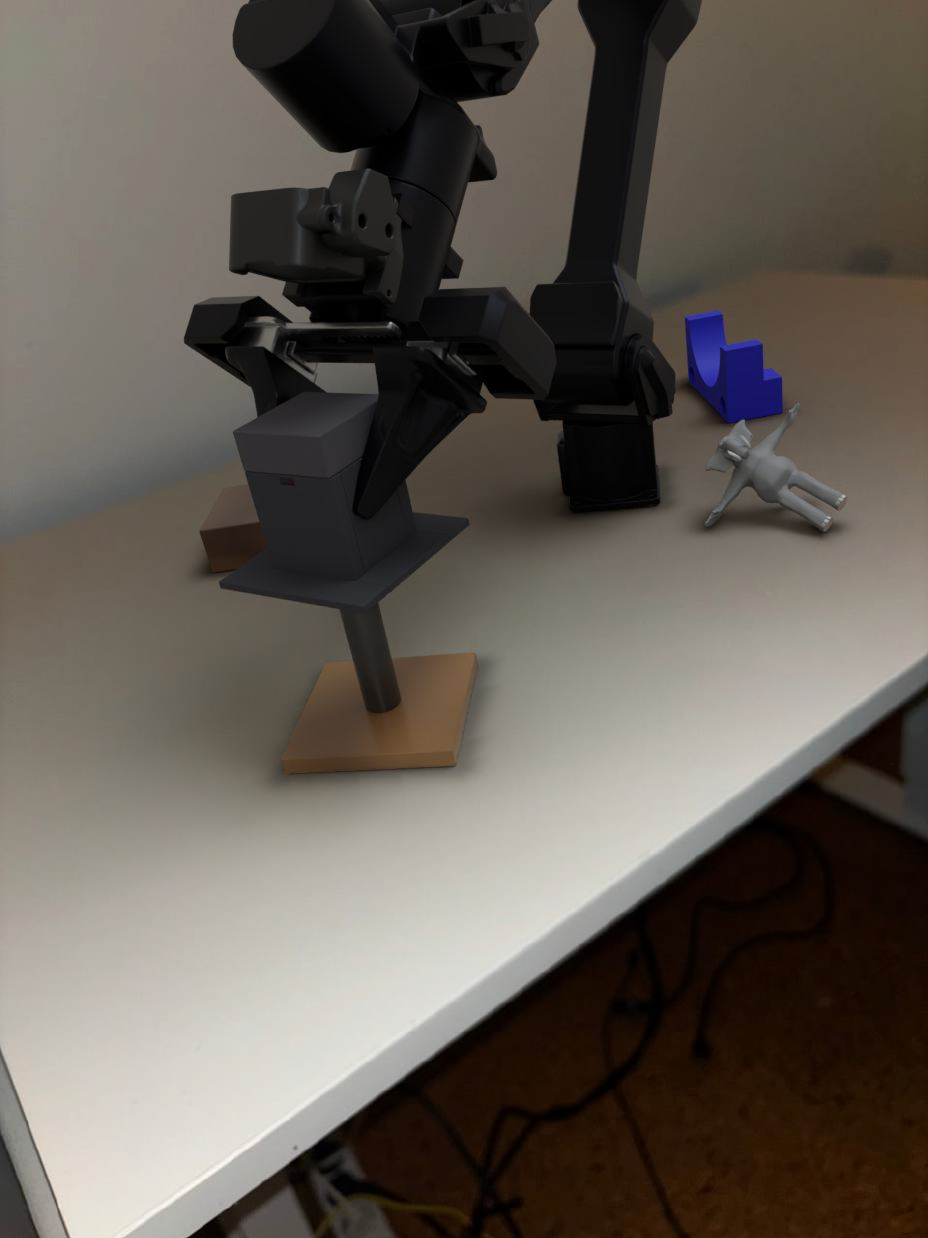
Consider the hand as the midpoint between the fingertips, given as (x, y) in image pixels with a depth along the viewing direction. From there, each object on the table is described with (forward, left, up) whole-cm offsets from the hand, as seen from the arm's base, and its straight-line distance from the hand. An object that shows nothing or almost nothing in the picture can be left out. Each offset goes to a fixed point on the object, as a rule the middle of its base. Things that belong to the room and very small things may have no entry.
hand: (314, 511), depth 48 cm
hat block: (+13, -25, -13) cm, 31 cm away
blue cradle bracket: (-23, -46, -13) cm, 53 cm away
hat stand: (-1, -1, -13) cm, 13 cm away
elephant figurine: (-24, -22, -13) cm, 35 cm away
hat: (-1, -1, -3) cm, 3 cm away
